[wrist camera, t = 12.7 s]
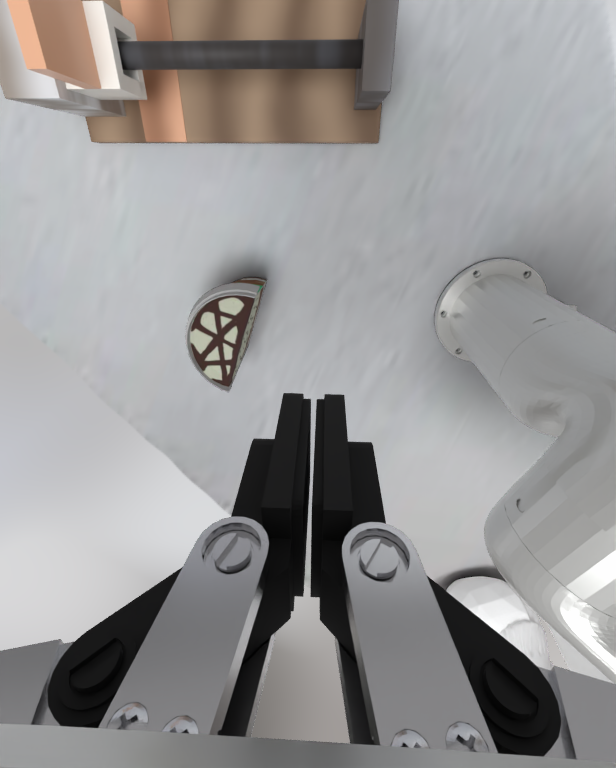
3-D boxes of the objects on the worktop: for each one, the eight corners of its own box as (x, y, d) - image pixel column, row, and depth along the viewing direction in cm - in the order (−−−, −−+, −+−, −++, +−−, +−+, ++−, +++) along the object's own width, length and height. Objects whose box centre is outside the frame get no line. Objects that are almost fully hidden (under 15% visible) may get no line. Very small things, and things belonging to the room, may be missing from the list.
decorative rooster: (529, 563, 68) (624, 745, 46) (512, 610, 75) (585, 783, 54) (393, 563, 69) (423, 738, 48) (390, 609, 77) (414, 776, 56)
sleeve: (134, 24, 28) (41, -46, 19) (147, 99, 30) (70, 68, 21) (83, 25, 28) (-33, -45, 19) (100, 99, 31) (3, 69, 21)
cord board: (388, 2, 31) (417, -78, 21) (376, 143, 36) (395, 132, 26) (67, 6, 32) (-50, -69, 22) (99, 142, 37) (16, 132, 27)
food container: (219, 249, 42) (191, 269, 33) (270, 267, 43) (256, 292, 34) (199, 341, 48) (171, 379, 39) (245, 356, 49) (227, 396, 40)
